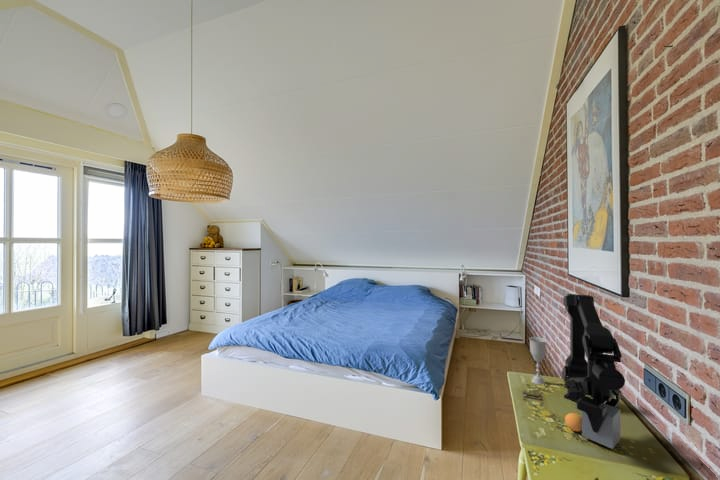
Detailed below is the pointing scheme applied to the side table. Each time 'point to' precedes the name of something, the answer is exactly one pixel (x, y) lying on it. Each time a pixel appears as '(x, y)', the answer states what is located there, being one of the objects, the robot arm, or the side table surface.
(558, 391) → the side table surface
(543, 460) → the side table surface
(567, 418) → the ball
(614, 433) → the grey block
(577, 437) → the side table surface
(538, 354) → the chalice
